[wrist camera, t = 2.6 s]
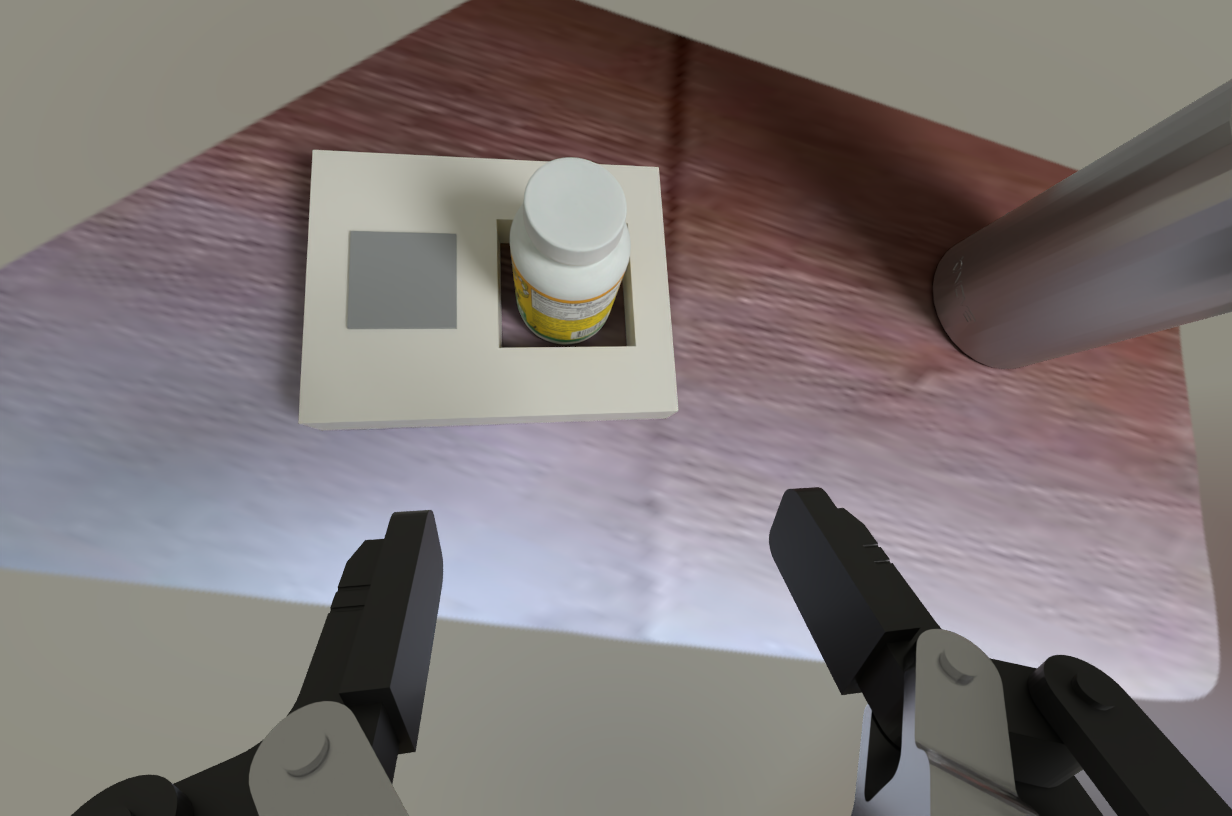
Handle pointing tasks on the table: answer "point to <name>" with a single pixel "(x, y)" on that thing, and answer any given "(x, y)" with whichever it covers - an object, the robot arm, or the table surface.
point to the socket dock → (460, 302)
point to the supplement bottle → (569, 249)
